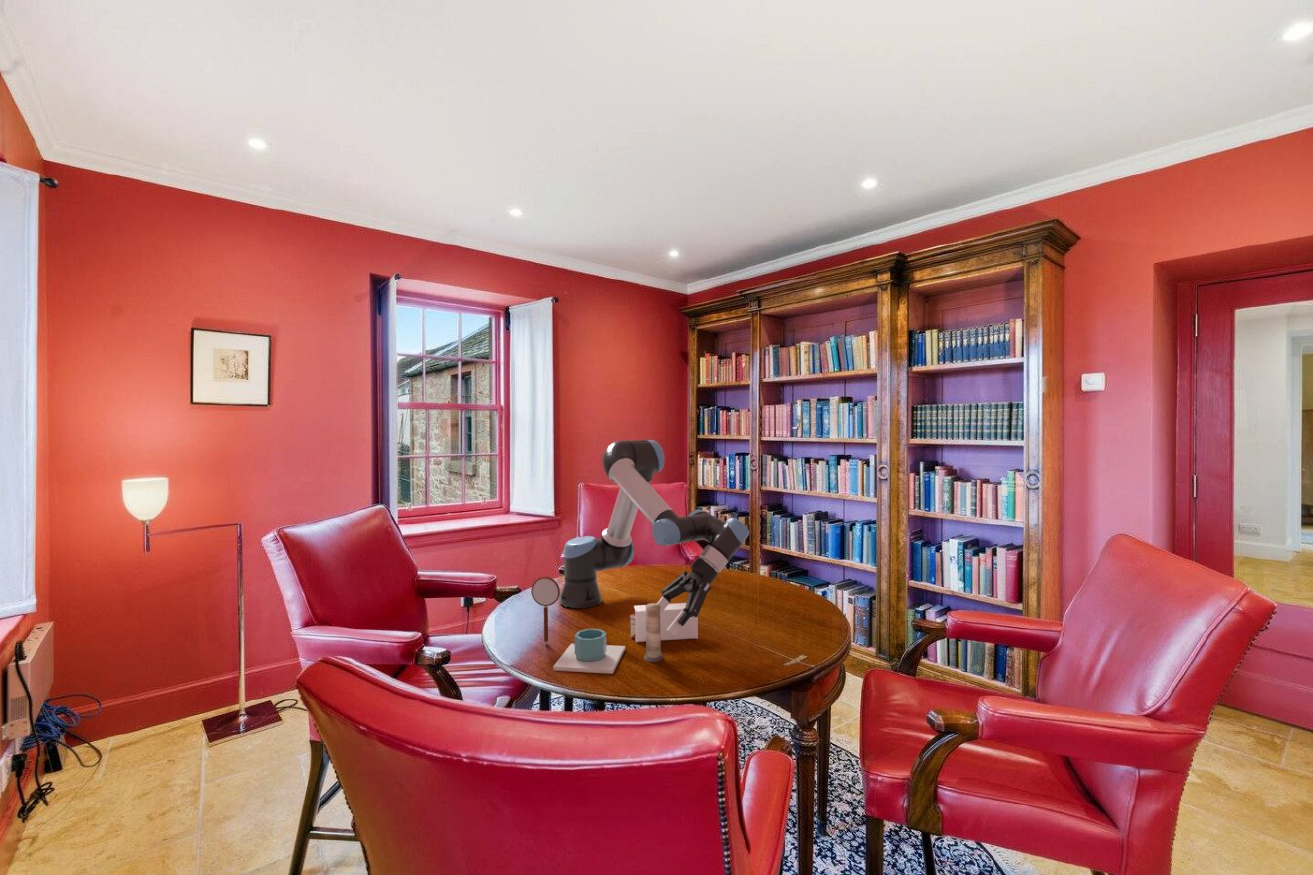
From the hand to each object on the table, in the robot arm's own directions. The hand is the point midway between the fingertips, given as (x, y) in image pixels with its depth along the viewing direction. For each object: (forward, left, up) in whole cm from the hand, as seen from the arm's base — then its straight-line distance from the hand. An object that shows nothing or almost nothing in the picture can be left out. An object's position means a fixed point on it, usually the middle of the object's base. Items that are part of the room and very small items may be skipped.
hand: (660, 625), depth 153 cm
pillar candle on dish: (0, -2, -9) cm, 9 cm away
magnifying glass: (-6, -35, -9) cm, 37 cm away
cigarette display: (-15, -1, -9) cm, 18 cm away
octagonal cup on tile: (+3, -19, -9) cm, 21 cm away
